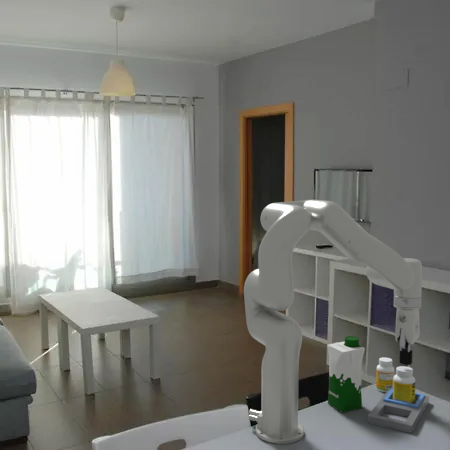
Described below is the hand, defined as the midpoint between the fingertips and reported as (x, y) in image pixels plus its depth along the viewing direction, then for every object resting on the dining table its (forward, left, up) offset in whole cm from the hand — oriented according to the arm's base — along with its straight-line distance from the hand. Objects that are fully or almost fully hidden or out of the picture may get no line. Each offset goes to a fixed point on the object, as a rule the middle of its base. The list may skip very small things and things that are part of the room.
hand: (405, 363), depth 162 cm
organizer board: (0, -6, -13) cm, 14 cm away
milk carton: (-15, -9, -13) cm, 22 cm away
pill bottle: (0, 0, -13) cm, 13 cm away
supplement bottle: (-8, +9, -13) cm, 18 cm away
